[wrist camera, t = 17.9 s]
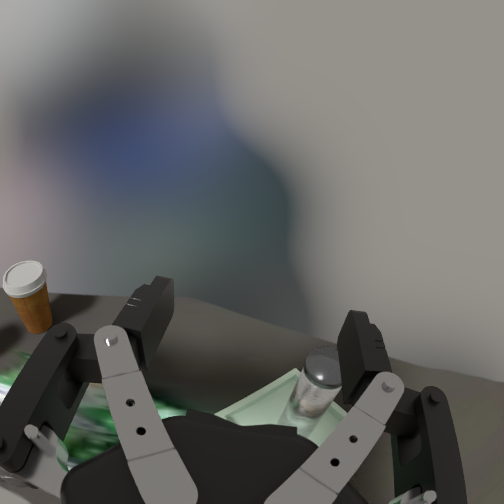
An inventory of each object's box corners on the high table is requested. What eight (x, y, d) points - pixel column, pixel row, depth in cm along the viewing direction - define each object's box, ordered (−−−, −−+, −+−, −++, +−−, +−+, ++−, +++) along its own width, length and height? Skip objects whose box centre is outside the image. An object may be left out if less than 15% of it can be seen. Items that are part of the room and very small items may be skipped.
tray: (285, 500, 28) (290, 496, 27) (213, 421, 38) (214, 414, 37) (360, 436, 38) (366, 429, 36) (292, 376, 48) (295, 367, 47)
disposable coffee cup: (32, 304, 51) (18, 256, 45) (66, 312, 52) (53, 262, 46) (12, 333, 42) (-8, 284, 37) (48, 344, 43) (28, 293, 37)
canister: (291, 452, 34) (332, 391, 26) (266, 428, 37) (296, 360, 30) (316, 432, 37) (360, 366, 30) (292, 410, 41) (326, 340, 33)
